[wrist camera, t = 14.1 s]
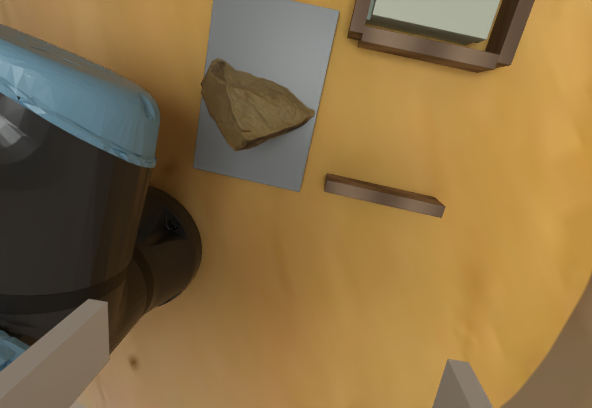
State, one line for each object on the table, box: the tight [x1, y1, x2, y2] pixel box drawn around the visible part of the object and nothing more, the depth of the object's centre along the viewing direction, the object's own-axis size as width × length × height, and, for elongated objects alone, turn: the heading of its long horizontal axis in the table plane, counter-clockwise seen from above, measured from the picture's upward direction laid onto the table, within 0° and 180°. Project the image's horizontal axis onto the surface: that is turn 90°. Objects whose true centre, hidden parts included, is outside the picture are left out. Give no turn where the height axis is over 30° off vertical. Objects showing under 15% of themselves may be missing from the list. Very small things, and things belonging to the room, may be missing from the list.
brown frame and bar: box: [324, 0, 535, 218], centre depth 33 cm, size 14×25×4 cm, turn 168°
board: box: [193, 0, 339, 192], centre depth 35 cm, size 12×18×1 cm, turn 168°
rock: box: [201, 58, 315, 151], centre depth 32 cm, size 11×9×10 cm
